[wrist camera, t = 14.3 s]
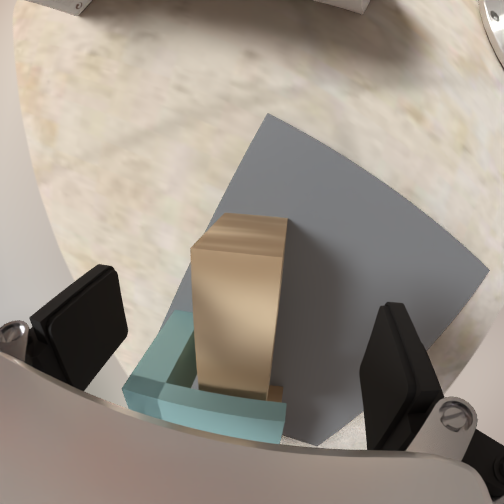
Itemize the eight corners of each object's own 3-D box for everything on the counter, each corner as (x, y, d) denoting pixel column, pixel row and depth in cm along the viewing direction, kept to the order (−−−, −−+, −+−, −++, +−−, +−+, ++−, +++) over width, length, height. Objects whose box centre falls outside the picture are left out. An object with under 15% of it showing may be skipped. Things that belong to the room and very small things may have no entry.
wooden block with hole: (275, 427, 24) (267, 482, 18) (212, 418, 24) (195, 470, 19) (307, 220, 17) (311, 260, 11) (206, 211, 17) (165, 245, 12)
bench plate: (269, 115, 16) (267, 113, 15) (482, 263, 17) (489, 270, 16) (148, 361, 24) (143, 369, 23) (317, 436, 25) (317, 446, 24)
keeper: (285, 368, 21) (275, 460, 13) (179, 352, 22) (137, 431, 14) (292, 325, 19) (284, 421, 12) (174, 309, 20) (121, 388, 13)
